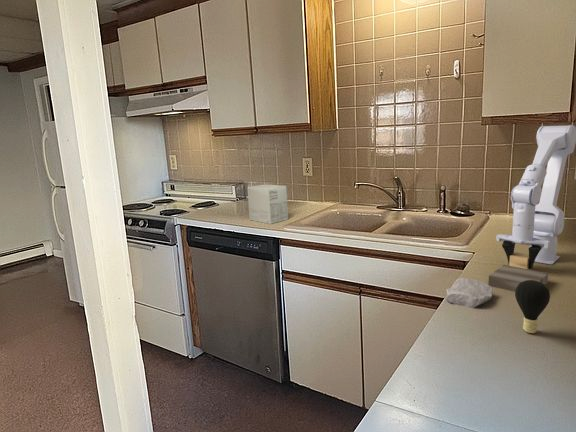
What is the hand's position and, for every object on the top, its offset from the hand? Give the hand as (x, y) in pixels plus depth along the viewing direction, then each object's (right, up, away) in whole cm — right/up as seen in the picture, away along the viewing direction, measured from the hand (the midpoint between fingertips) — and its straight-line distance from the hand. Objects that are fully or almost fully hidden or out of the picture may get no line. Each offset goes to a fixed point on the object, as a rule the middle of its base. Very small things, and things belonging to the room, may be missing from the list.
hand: (520, 266), depth 131 cm
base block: (-6, -4, -10) cm, 12 cm away
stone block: (-23, -7, -18) cm, 30 cm away
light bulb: (-18, -10, -37) cm, 42 cm away
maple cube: (0, -1, 0) cm, 1 cm away
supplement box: (-83, +13, +91) cm, 124 cm away
